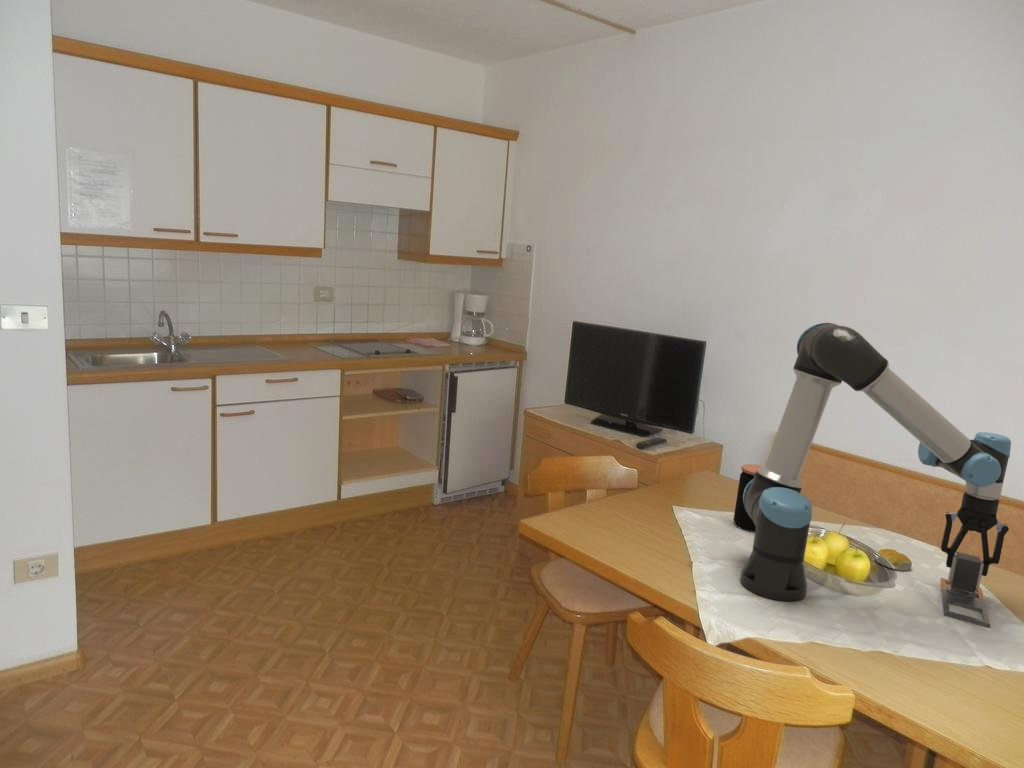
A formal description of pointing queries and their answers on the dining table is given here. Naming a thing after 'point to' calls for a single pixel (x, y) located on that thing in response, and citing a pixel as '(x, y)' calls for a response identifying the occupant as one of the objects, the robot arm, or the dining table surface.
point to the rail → (964, 604)
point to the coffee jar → (740, 513)
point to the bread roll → (896, 559)
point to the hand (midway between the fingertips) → (963, 583)
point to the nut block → (966, 572)
